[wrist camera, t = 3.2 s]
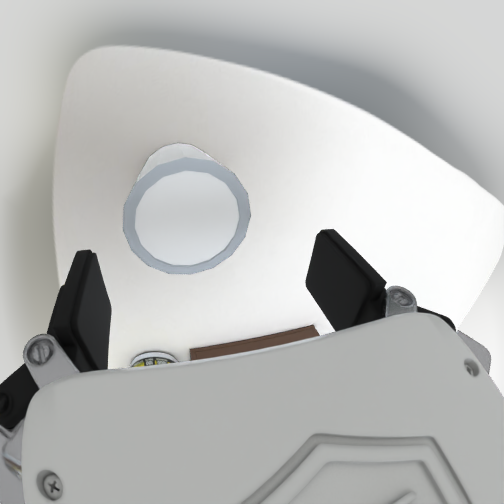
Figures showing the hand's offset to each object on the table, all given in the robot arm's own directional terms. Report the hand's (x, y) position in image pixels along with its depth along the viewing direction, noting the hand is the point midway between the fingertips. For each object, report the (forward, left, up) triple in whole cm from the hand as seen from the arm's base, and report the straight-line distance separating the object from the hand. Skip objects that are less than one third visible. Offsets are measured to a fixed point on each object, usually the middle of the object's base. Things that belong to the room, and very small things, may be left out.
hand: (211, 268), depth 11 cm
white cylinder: (0, 0, -11) cm, 11 cm away
